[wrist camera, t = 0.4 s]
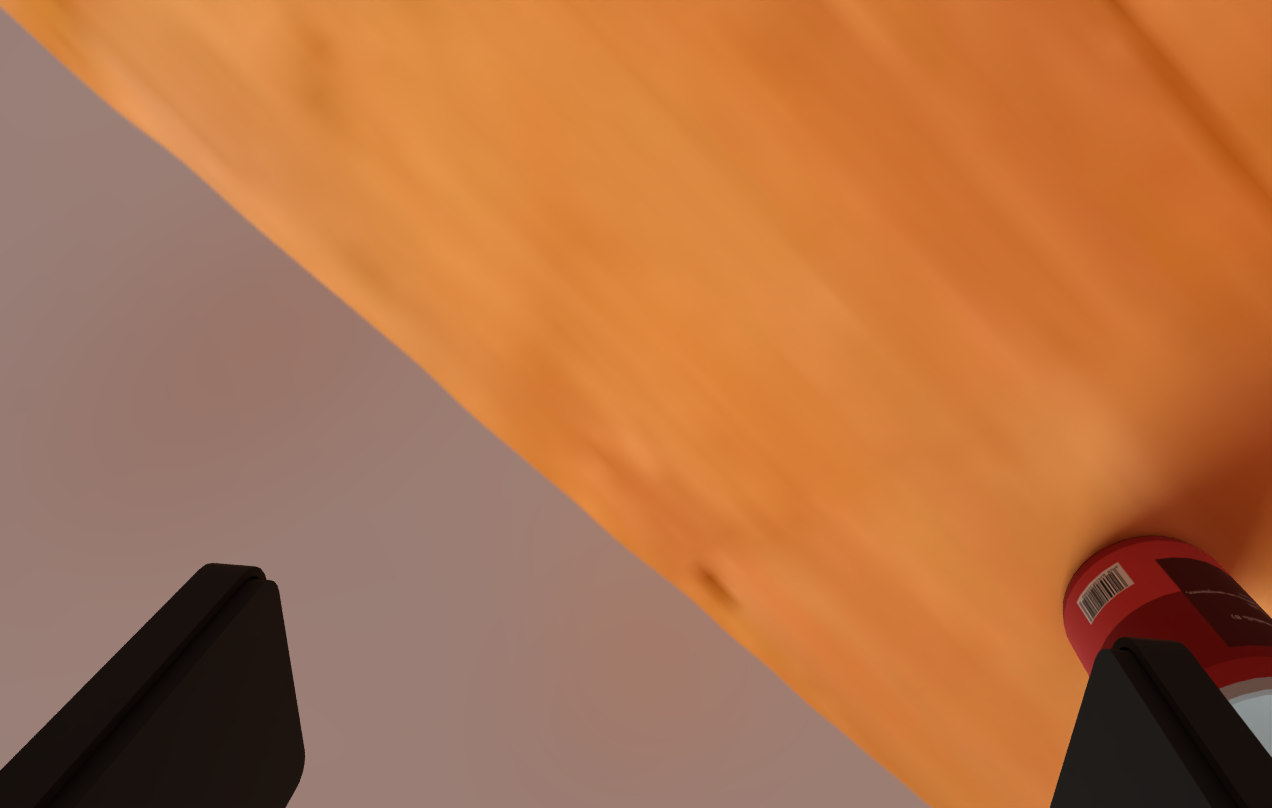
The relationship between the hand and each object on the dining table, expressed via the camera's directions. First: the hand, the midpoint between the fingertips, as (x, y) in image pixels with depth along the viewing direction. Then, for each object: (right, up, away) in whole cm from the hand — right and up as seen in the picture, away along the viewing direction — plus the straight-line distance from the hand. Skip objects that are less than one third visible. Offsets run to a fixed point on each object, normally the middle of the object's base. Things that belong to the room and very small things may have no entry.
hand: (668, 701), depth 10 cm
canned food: (+25, -6, +33) cm, 42 cm away
